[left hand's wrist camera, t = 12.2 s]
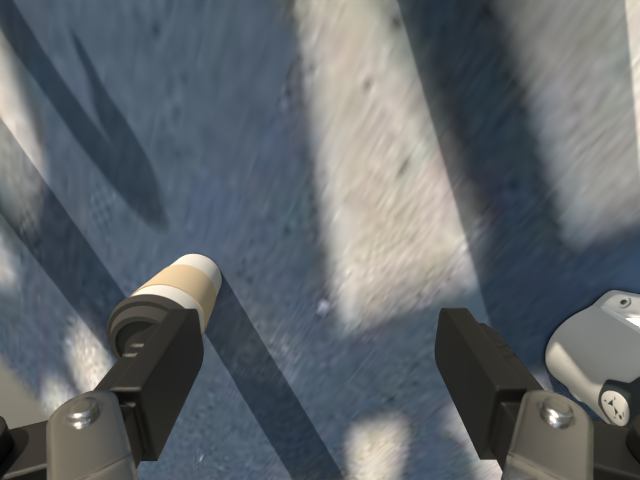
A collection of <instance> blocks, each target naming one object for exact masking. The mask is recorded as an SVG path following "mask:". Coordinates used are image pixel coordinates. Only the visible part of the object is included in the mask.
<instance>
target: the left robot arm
mask: <svg viewBox="0 0 640 480" xmlns="http://www.w3.org/2000/svg"><path fill="white" fill-rule="evenodd" d="M203 355H204V348H203V340H202V333H201V326H200V320H199V313H198V311H197V309H195V308H173V309H171V310H170V311H169V312H168V314H167V315H166V316H165V318H164V319H163V320H162V321H161V323H160V324H153V325H152V326H150V327H149V328H147V329H146V330H144V331H143V332H141V333H140V334H139V335H138V336H137V337H136V339H135V340H134V341H133V342H132V344H131V345H130V347H128V348H127V350H126V351H125V352H124V353H123V355H122V357H120V358H119V359H118V361H117V362H116V363H115V364H114V366H113V367H112V368H111V369H110V371H109V372H108V373H107V374H106V375H105V377H104V378H103V379H102V380H101V382H100V383H99V384H98V385H97V386H96V388H95V389H94V390H93V391H89V392H86V393H83V394H80V395H78V396H75V397H74V398H72V399H70V400H68V401H67V402H65V403H64V404H62V405H61V406H60V407H59V408H58V409H57V410H56V411H55V412H54V413H53V414H52V415H51V417H50V418H49V420H47V421H43V422H39V423H35V424H31V425H27V426H23V427H18V428H15V429H10V430H9V429H8V426H7V424H6V421H5V419H4V418H3V417H1V416H0V480H139V477H138V473H137V470H136V469H137V467H138V465H139V463H140V461H157V460H158V458H159V456H160V454H161V452H162V450H163V448H164V445H165V443H166V441H167V439H168V437H169V435H170V433H171V430H172V428H173V426H174V424H175V422H176V420H177V418H178V415H179V413H180V411H181V409H182V407H183V405H184V403H185V400H186V398H187V396H188V394H189V392H190V390H191V388H192V385H193V383H194V381H195V379H196V377H197V375H198V373H199V370H200V368H201V365H202V362H203ZM435 360H436V364H437V367H438V369H439V371H440V374H441V376H442V378H443V380H444V382H445V384H446V387H447V389H448V391H449V393H450V395H451V397H452V400H453V402H454V404H455V406H456V408H457V410H458V413H459V415H460V417H461V419H462V421H463V423H464V426H465V428H466V430H467V432H468V434H469V436H470V439H471V441H472V443H473V445H474V447H475V449H476V452H477V454H478V456H479V458H480V460H497V462H498V464H499V466H500V468H501V470H502V471H503V473H502V477H501V480H640V414H639V415H637V416H635V418H634V419H633V422H632V424H631V426H630V429H628V428H624V427H620V426H616V425H612V424H607V423H603V422H599V421H595V420H591V418H590V417H589V415H588V414H587V413H586V412H585V411H584V410H583V409H582V408H581V407H580V406H579V405H578V404H576V403H575V402H573V401H572V400H570V399H568V398H566V397H565V396H562V395H560V394H557V393H554V392H551V391H546V390H544V389H543V388H542V386H541V385H540V384H539V383H538V382H537V380H536V379H535V378H534V377H533V375H532V374H531V373H530V372H529V370H528V369H527V368H526V367H525V365H524V364H523V363H522V362H521V360H520V359H519V358H518V357H517V356H515V353H514V352H513V351H512V349H511V348H510V347H508V346H507V343H506V342H505V341H504V339H503V338H502V337H501V336H500V334H499V333H498V332H496V331H495V330H493V329H492V328H490V327H489V326H487V325H486V324H484V323H478V322H477V321H476V320H475V318H474V317H473V316H472V314H471V313H470V312H469V310H468V309H467V308H442V309H441V310H440V314H439V320H438V327H437V334H436V341H435Z"/></svg>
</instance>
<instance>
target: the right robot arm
mask: <svg viewBox="0 0 640 480" xmlns="http://www.w3.org/2000/svg"><path fill="white" fill-rule="evenodd" d="M545 361H546V365H547V368H548V370H549V372H550V373H551V374H552V375H553V377H555V378H556V379H557V380H559V381H560V382H561V383H563V384H564V385H565V386H567V387H568V390H569V391H570V393H571V395H572V396H573V397H575V398H576V399H577V400H578V401H581V402H584V403H585V404H587V405H588V406H589V407H590V408H591V409H592V410H593V411H594V412H595V413H596V414H598V415H599V416H600V417H601V418H602V419H603V420H604V421H605V422H606V423H608V424H612V425H616V426H620V427H624V428H628V429H630V426H631V424H632V422H633V419H634V418H635V416H637V415H639V414H640V294H635V293H629V292H624V291H618V290H611V291H609V292H607V293H605V294H604V295H603V296H602V297H600V298H599V299H598V300H597V301H596V302H595V303H594V304H593V305H592V306H590V307H588V308H587V309H584V310H582V311H580V312H578V313H577V314H575V315H573V316H572V317H570V318H569V319H567V320H566V321H565V322H564V323H563V324H561V325H560V326H559V328H558V329H557V330H556V331H555V332H554V334H553V335H552V337H551V338H550V340H549V342H548V345H547V348H546V353H545Z"/></svg>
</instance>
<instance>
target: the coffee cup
mask: <svg viewBox="0 0 640 480" xmlns="http://www.w3.org/2000/svg"><path fill="white" fill-rule="evenodd" d="M221 283H222V277H221V273H220V270H219V268H218V267H217V265H216V264H215V263H214V262H213V261H212V260H210V259H209V258H207V257H205V256H202V255H198V254H189V255H185V256H183V257H181V258H179V259H178V260H177V261H176V262H174V263H173V264H172V265H171V266H169V267H167V268H165V269H164V270H162V271H161V272H160V273H158V274H157V275H156V276H155V277H153V278H152V279H151V280H149V281H148V282H147V283H146V284H144V285H143V286H142V287H140V288H139V289H138V290H137V291H135V292H134V293H133V294H132V295H131V296H130V297H129V298H127V299H125V300H123V301H122V302H120V303H119V304H118V305H117V306H116V307H115V308H114V310H113V312H112V314H111V316H110V319H109V321H108V325H107V337H108V341H109V344H110V346H111V349H112V351H113V354H114V355H115V357H116V358H117V360H118V359H119V358H120V357H122V355H123V353H124V352H125V351H126V350H127V348H128V347H130V345H131V344H132V342H133V341H134V340H135V339H136V337H137V336H138V335H139V334H140V333H141V332H143V331H144V330H146V329H147V328H149V327H150V326H152V325H153V324H160V323H161V321H162V320H163V319H164V318H165V316H166V315H167V314H168V312H169V311H170V310H171V309H173V308H195V309H197V311H198V313H199V320H200V326H201V333H202V336H203V334H204V332H205V329H206V326H207V324H208V321H209V318H210V316H211V313H212V310H213V307H214V305H215V302H216V297H217V295H218V292H219V290H220V287H221Z"/></svg>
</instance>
